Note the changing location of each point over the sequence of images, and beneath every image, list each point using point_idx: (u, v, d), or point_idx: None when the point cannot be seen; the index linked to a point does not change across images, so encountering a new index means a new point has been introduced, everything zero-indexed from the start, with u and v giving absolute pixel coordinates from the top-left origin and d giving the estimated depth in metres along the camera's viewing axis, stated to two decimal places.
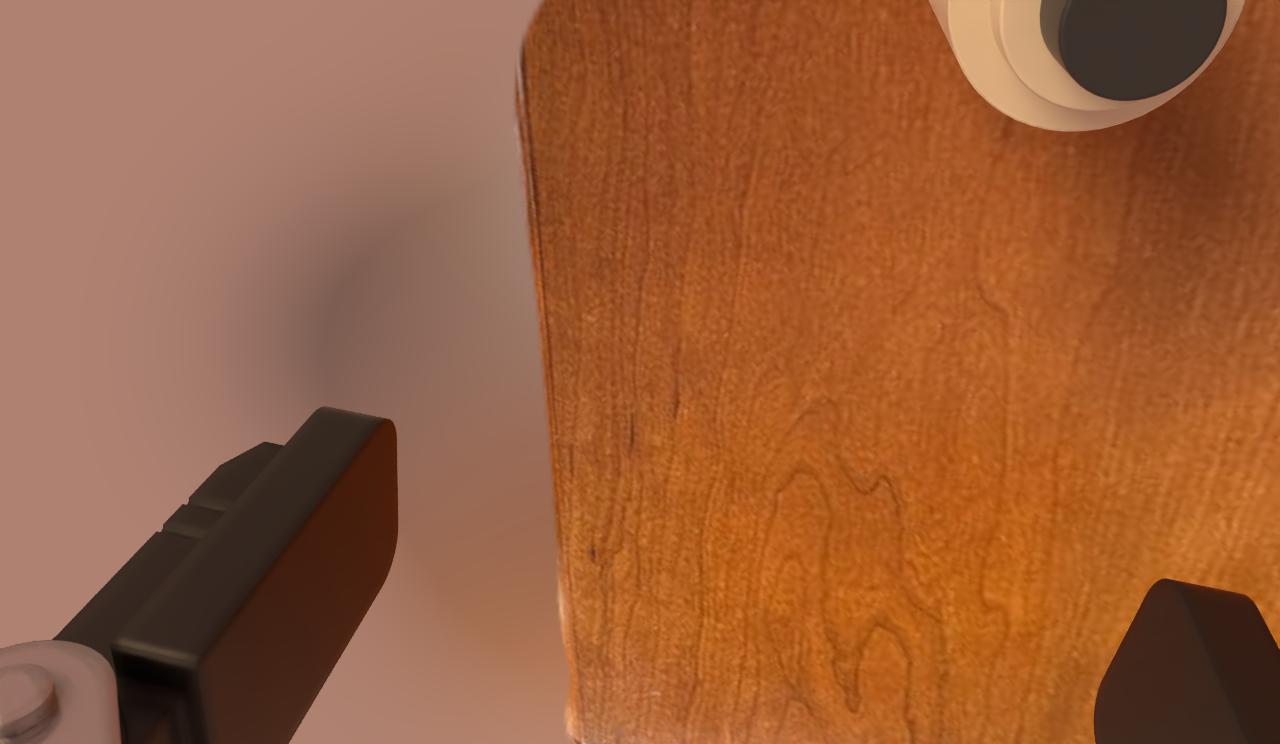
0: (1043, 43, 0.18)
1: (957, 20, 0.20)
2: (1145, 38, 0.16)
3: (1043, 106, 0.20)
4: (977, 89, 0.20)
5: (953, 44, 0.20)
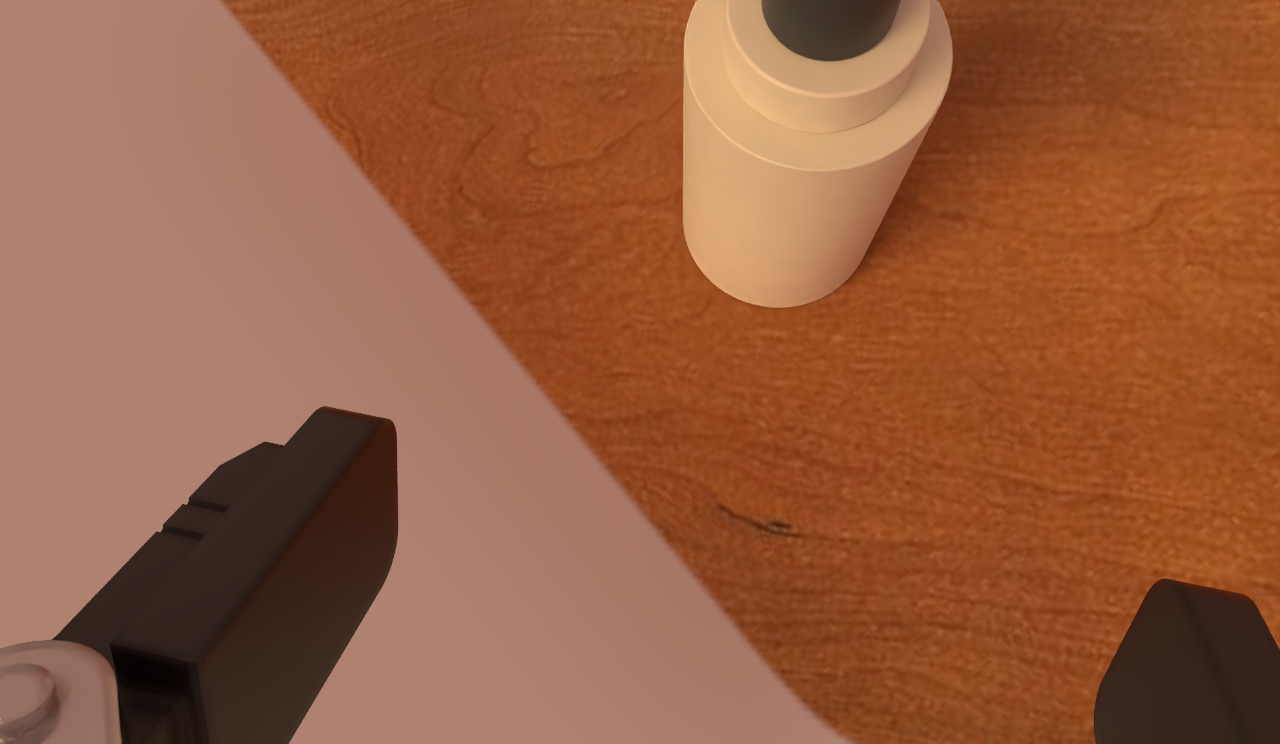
0: (863, 57, 0.19)
1: (840, 161, 0.20)
2: None
3: (927, 77, 0.20)
4: (910, 138, 0.20)
5: (864, 163, 0.20)
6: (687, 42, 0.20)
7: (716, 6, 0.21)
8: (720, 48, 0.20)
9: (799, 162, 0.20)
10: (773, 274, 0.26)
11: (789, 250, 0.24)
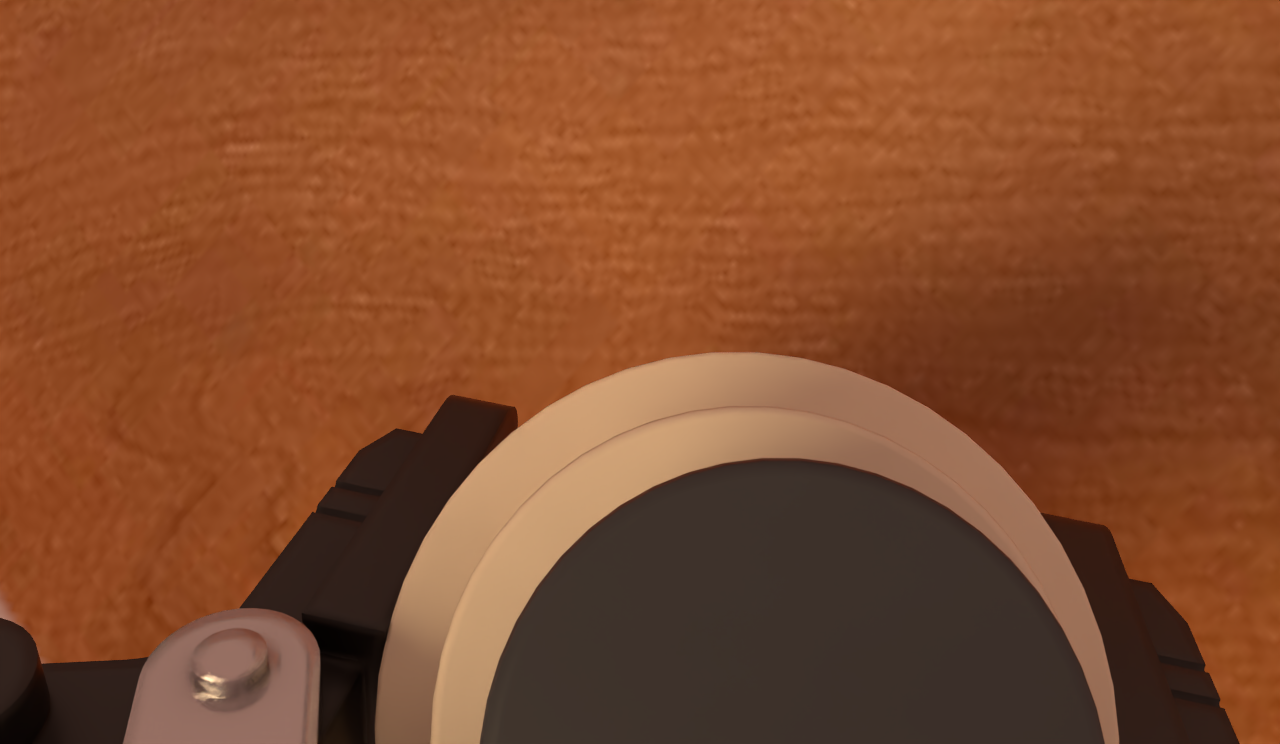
0: None
1: None
2: None
3: None
4: None
5: None
6: (384, 686, 0.07)
7: (469, 570, 0.08)
8: None
9: None
10: None
11: None
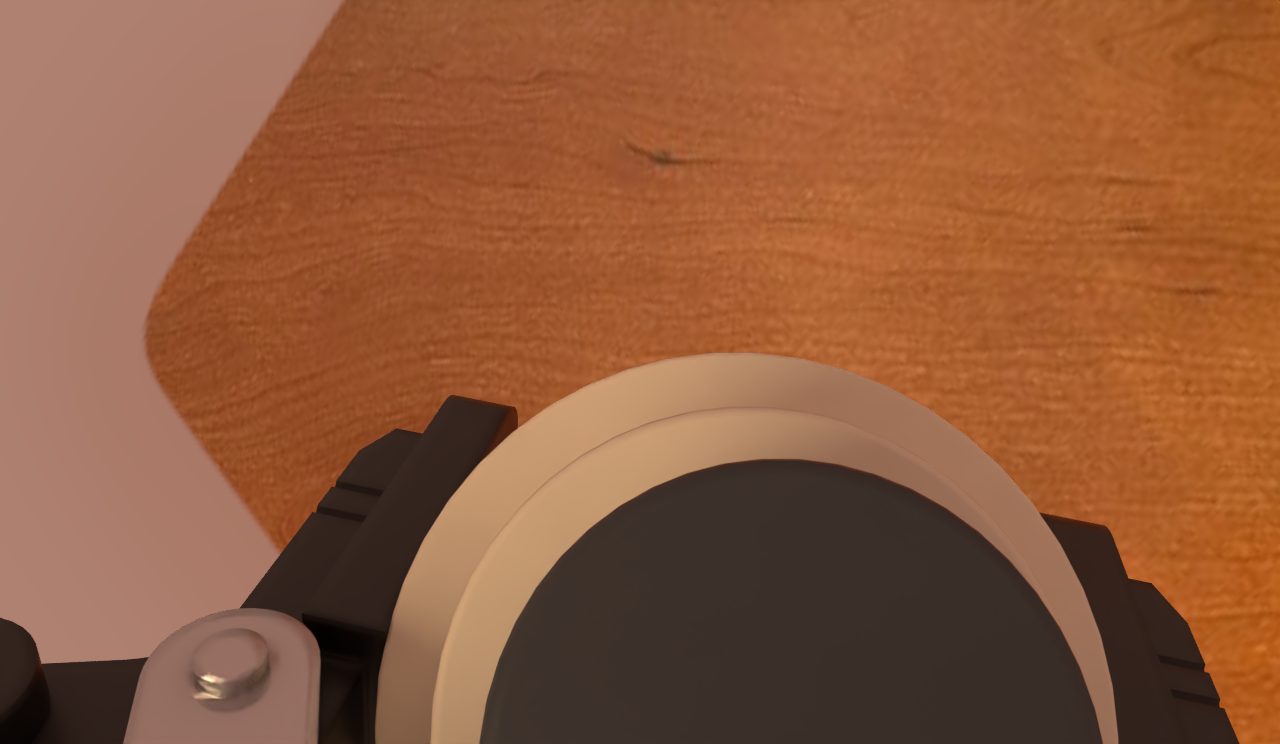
0: None
1: None
2: None
3: None
4: None
5: None
6: (384, 686, 0.07)
7: (469, 571, 0.08)
8: None
9: None
10: None
11: None
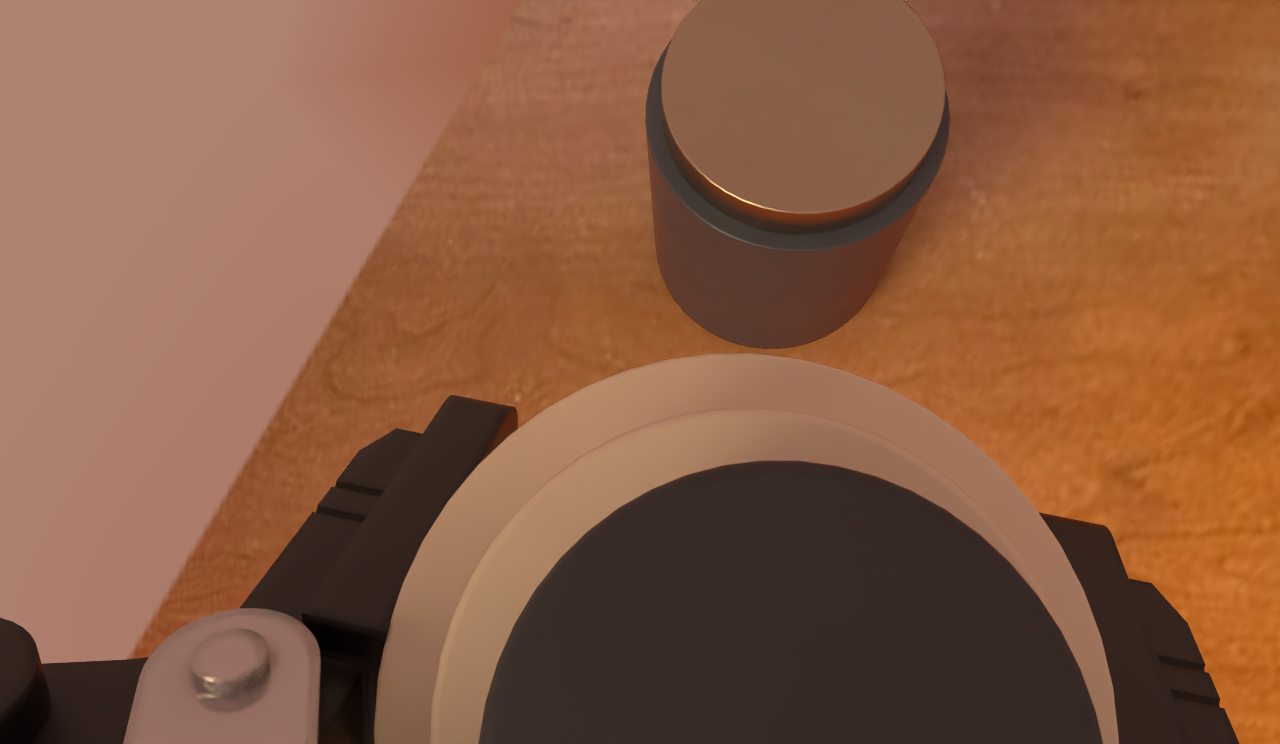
0: None
1: None
2: None
3: None
4: None
5: None
6: (383, 687, 0.07)
7: (468, 572, 0.08)
8: None
9: None
10: None
11: None
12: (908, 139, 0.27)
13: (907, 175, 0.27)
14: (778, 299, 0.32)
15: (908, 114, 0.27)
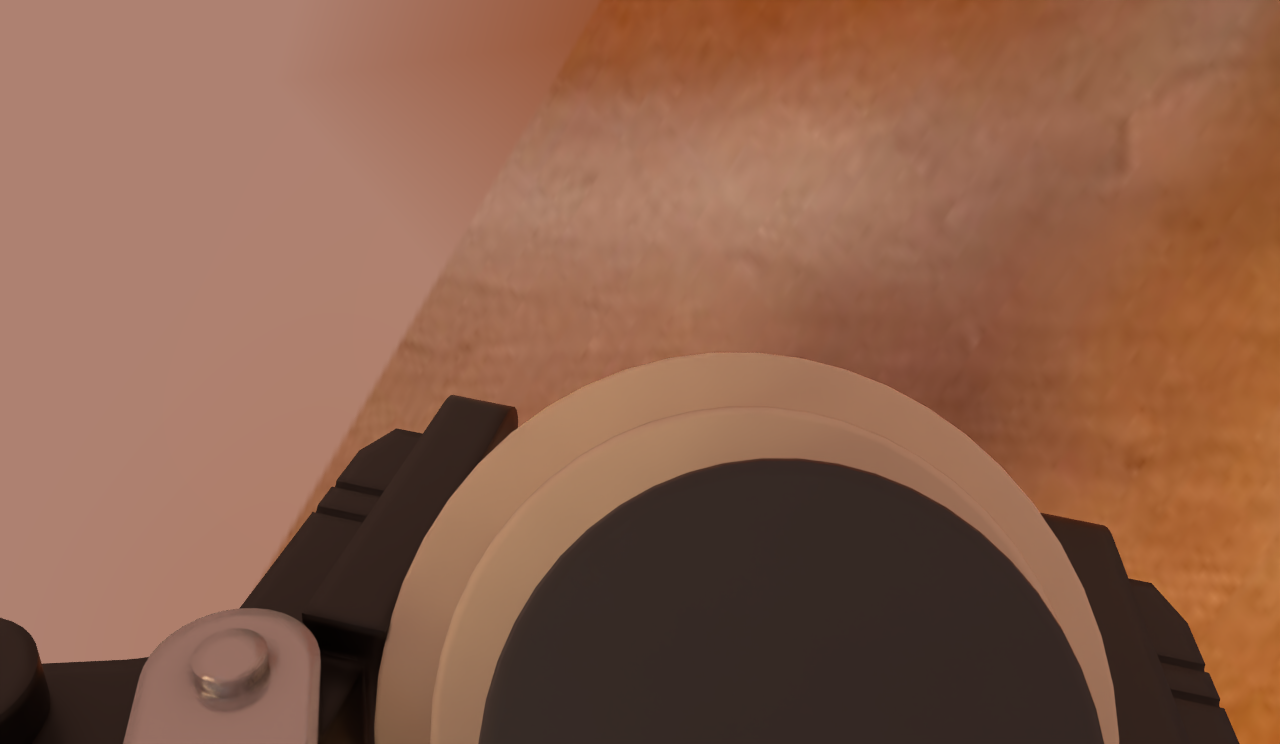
0: None
1: None
2: None
3: None
4: None
5: None
6: (384, 686, 0.07)
7: (469, 570, 0.08)
8: None
9: None
10: None
11: None
12: None
13: None
14: None
15: None
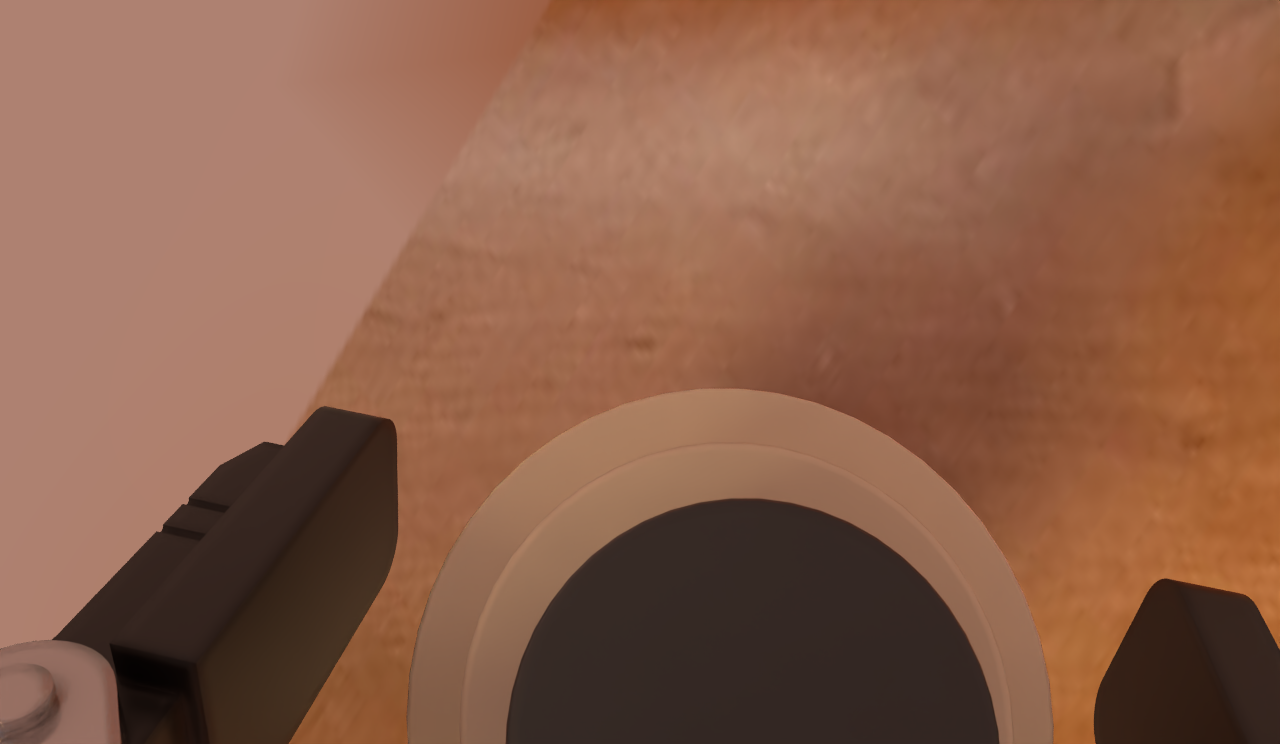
0: None
1: None
2: (795, 730, 0.05)
3: None
4: None
5: None
6: (415, 682, 0.09)
7: (488, 581, 0.09)
8: None
9: None
10: None
11: None
12: None
13: None
14: None
15: None
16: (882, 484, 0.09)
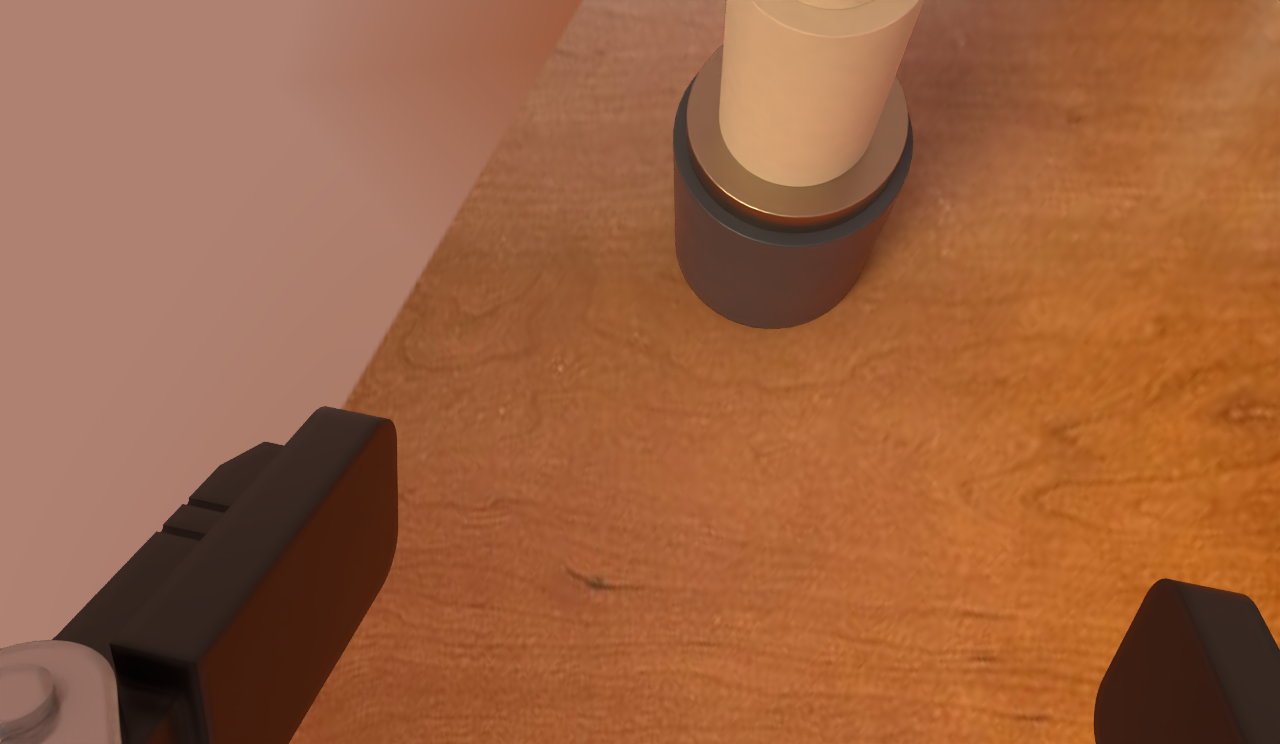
0: None
1: (853, 30, 0.26)
2: None
3: None
4: (906, 12, 0.26)
5: (871, 31, 0.26)
6: None
7: None
8: None
9: (822, 31, 0.26)
10: (797, 149, 0.32)
11: (811, 122, 0.30)
12: (879, 160, 0.34)
13: (877, 188, 0.34)
14: (776, 286, 0.39)
15: (879, 141, 0.35)
16: None
